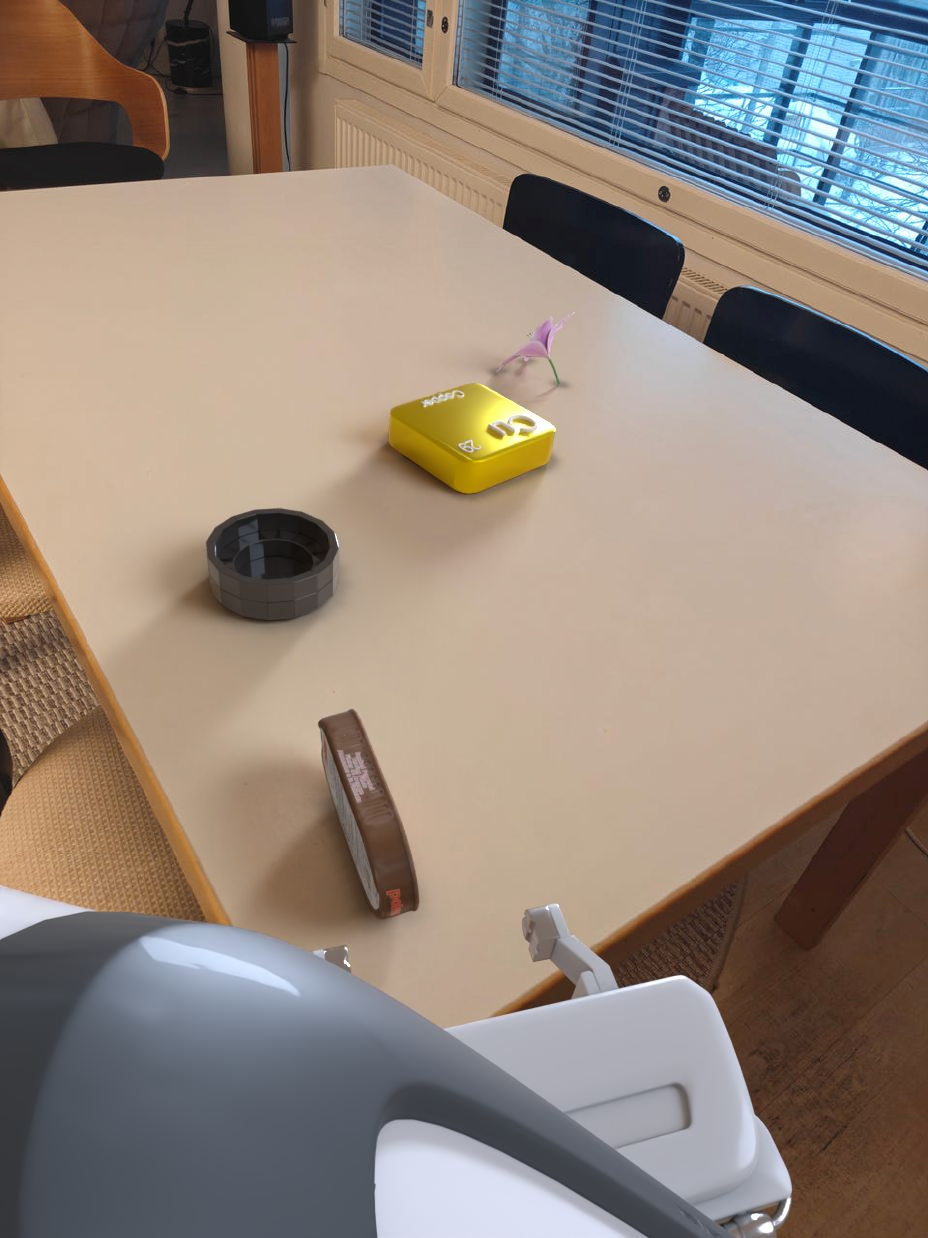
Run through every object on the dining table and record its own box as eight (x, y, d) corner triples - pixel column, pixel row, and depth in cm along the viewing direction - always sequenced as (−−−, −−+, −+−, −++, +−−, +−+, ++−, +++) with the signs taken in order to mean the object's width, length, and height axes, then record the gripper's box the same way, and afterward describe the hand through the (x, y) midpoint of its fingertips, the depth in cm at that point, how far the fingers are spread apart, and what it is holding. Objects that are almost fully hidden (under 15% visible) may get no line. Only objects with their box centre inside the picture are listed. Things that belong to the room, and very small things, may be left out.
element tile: (472, 410, 111) (476, 375, 108) (556, 461, 103) (564, 425, 100) (380, 441, 102) (382, 404, 99) (465, 499, 95) (470, 461, 92)
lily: (567, 365, 127) (547, 301, 123) (609, 368, 116) (588, 298, 112) (498, 399, 124) (475, 335, 120) (534, 405, 114) (510, 335, 110)
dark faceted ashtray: (214, 630, 75) (209, 589, 72) (208, 551, 83) (203, 512, 80) (346, 617, 78) (347, 578, 75) (328, 542, 86) (327, 504, 83)
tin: (419, 934, 55) (429, 860, 50) (372, 949, 54) (377, 874, 49) (353, 760, 66) (355, 682, 60) (313, 770, 64) (311, 691, 59)
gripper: (850, 1205, 28) (669, 851, 38) (203, 1415, 23) (188, 940, 33) (785, 1257, 32) (636, 925, 42) (223, 1446, 27) (204, 1016, 37)
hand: (436, 932), depth 37 cm, fingers open, 8 cm apart
